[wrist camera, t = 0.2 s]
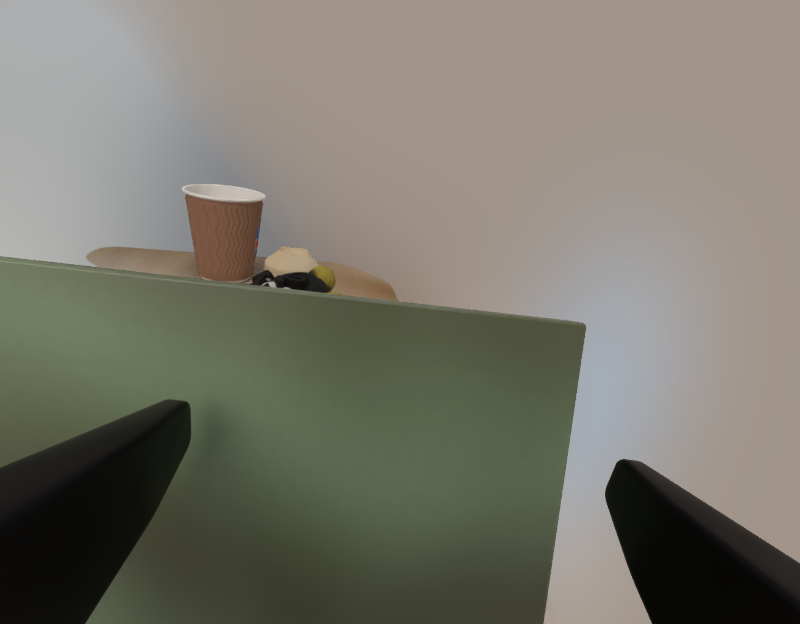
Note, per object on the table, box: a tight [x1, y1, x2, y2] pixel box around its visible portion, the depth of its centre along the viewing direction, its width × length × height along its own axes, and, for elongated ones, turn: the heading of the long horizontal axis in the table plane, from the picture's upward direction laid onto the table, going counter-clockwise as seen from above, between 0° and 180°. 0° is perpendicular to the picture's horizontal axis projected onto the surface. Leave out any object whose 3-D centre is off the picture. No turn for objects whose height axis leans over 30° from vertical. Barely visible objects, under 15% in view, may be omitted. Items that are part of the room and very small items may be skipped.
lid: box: [0, 256, 586, 624], centre depth 10 cm, size 12×14×1 cm
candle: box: [265, 246, 319, 277], centre depth 45 cm, size 6×6×10 cm
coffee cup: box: [182, 184, 266, 283], centre depth 57 cm, size 10×10×12 cm
